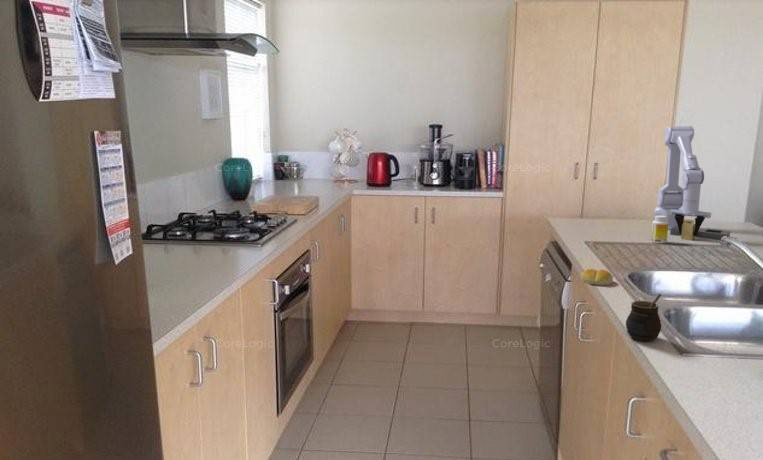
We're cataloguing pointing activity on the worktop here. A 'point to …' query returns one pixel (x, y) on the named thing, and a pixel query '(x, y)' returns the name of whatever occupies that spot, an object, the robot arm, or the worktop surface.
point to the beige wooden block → (688, 221)
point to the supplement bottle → (659, 230)
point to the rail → (704, 233)
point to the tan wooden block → (688, 231)
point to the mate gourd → (644, 320)
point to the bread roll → (597, 277)
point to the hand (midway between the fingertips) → (688, 234)
